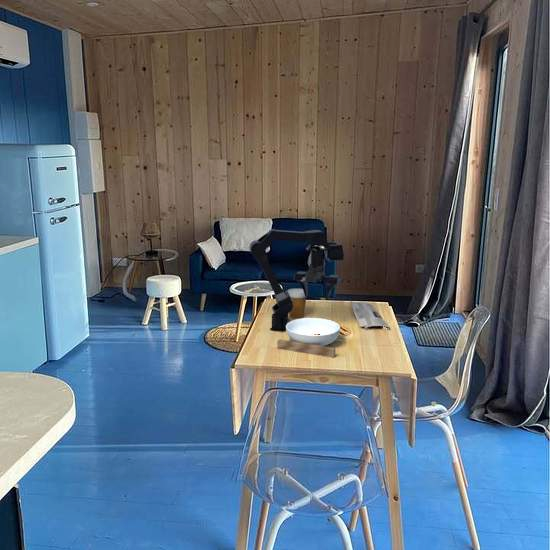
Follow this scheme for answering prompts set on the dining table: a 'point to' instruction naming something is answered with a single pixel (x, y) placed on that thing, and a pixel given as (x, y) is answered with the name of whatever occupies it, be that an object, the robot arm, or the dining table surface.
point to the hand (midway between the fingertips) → (316, 298)
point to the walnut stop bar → (306, 348)
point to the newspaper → (367, 315)
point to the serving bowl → (313, 331)
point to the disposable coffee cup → (297, 303)
